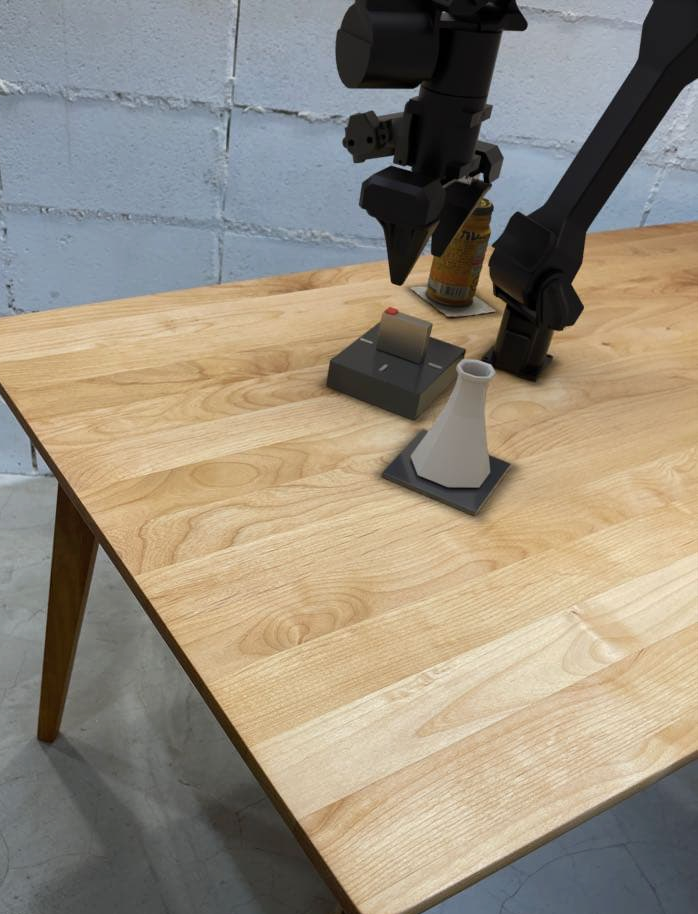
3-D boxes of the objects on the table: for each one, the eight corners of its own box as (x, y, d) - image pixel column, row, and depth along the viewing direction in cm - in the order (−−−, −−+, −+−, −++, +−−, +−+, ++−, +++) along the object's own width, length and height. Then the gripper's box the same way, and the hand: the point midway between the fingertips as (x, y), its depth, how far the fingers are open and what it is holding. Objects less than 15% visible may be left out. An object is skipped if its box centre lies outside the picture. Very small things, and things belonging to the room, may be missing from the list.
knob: (425, 359, 85) (433, 320, 83) (419, 364, 84) (428, 325, 82) (381, 343, 87) (388, 305, 84) (375, 348, 86) (382, 310, 83)
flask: (488, 498, 73) (520, 398, 66) (406, 481, 73) (429, 380, 67) (490, 452, 78) (520, 356, 72) (413, 437, 79) (436, 340, 72)
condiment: (456, 283, 109) (479, 188, 101) (495, 312, 103) (522, 214, 95) (409, 289, 106) (429, 192, 98) (446, 319, 100) (470, 218, 93)
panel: (377, 344, 93) (382, 318, 91) (460, 374, 90) (467, 347, 88) (325, 386, 85) (329, 358, 83) (414, 421, 82) (420, 392, 80)
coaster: (421, 433, 80) (422, 428, 80) (510, 467, 77) (511, 463, 77) (380, 476, 74) (381, 472, 74) (474, 516, 71) (476, 511, 71)
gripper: (413, 55, 79) (384, 221, 89) (315, 83, 66) (295, 274, 76) (525, 81, 75) (481, 251, 85) (444, 116, 62) (405, 311, 73)
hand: (417, 269), depth 80 cm, fingers open, 9 cm apart
